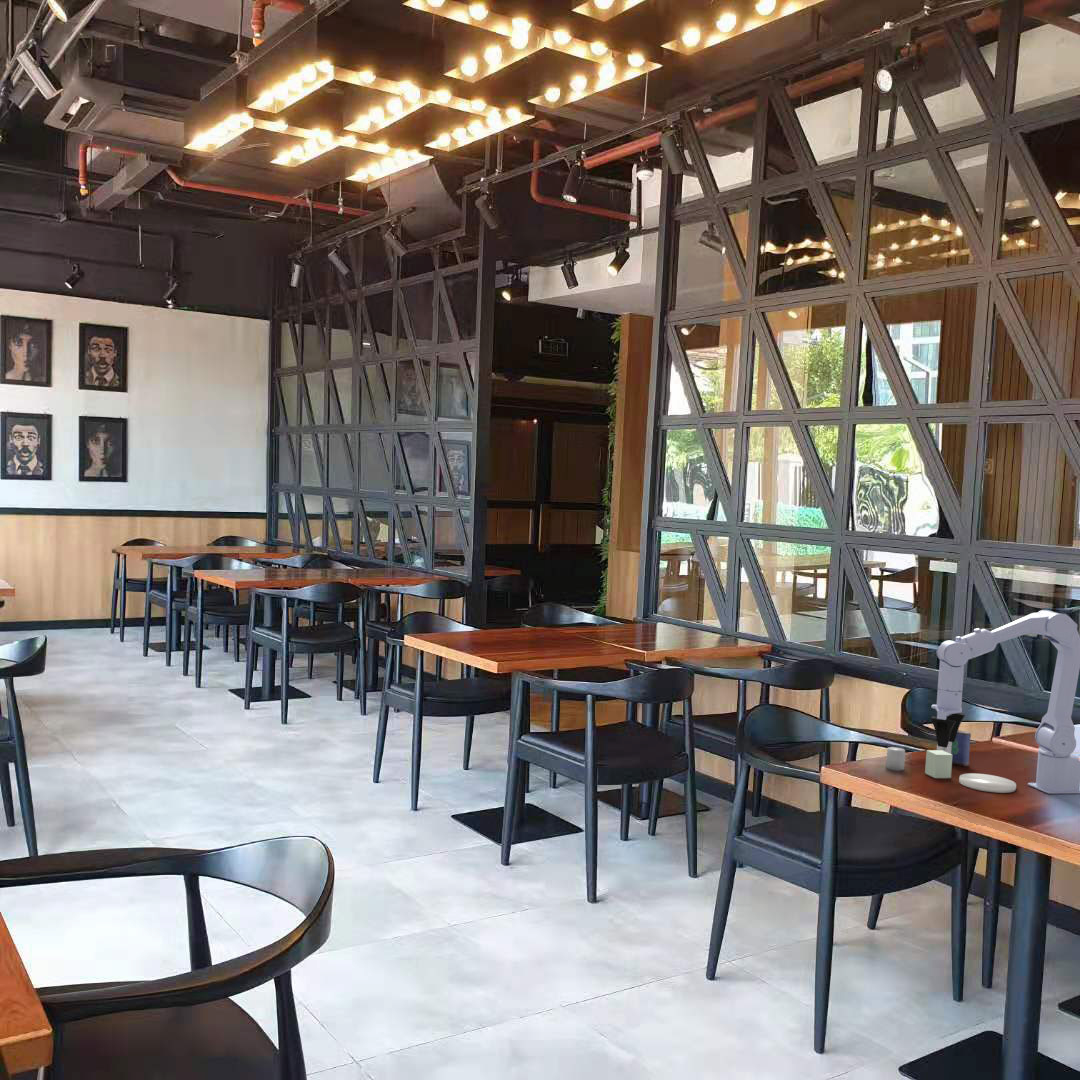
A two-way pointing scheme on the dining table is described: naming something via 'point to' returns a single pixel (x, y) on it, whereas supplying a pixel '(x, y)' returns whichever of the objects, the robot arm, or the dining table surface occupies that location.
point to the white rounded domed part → (895, 758)
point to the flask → (961, 748)
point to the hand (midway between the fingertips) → (946, 744)
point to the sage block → (938, 764)
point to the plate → (987, 783)
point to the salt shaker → (946, 748)
